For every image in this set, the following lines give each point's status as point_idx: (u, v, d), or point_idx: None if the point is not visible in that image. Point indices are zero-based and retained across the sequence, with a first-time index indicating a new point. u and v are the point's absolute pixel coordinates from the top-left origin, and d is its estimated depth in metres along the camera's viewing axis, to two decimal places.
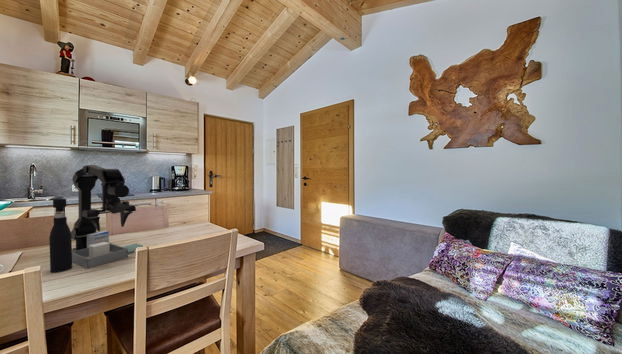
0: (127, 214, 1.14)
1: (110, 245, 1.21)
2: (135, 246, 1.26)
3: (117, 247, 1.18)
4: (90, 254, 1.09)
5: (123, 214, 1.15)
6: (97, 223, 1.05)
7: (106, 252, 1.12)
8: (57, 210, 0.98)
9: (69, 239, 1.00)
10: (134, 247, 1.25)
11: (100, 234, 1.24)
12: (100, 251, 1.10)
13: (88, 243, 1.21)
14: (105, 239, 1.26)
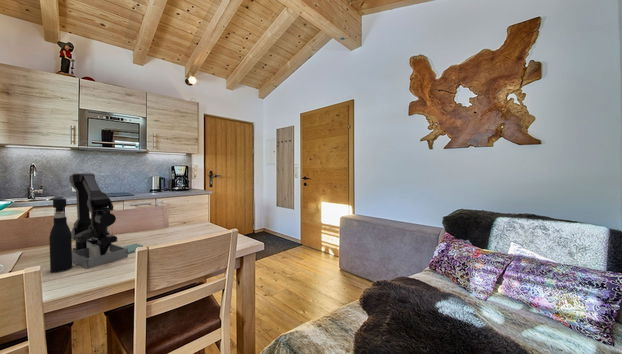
0: None
1: (110, 245, 1.21)
2: (135, 246, 1.26)
3: (117, 247, 1.18)
4: (90, 254, 1.09)
5: None
6: None
7: (106, 252, 1.12)
8: (57, 210, 0.98)
9: (69, 239, 1.00)
10: (134, 247, 1.25)
11: None
12: None
13: (88, 243, 1.21)
14: None
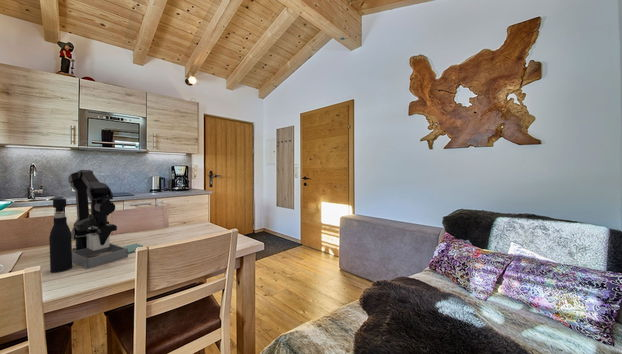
0: (97, 233, 1.08)
1: (110, 245, 1.21)
2: (135, 246, 1.26)
3: (117, 247, 1.18)
4: (90, 242, 1.09)
5: None
6: None
7: (106, 241, 1.12)
8: (57, 210, 0.98)
9: (69, 239, 1.00)
10: (134, 247, 1.25)
11: None
12: None
13: (88, 243, 1.21)
14: None
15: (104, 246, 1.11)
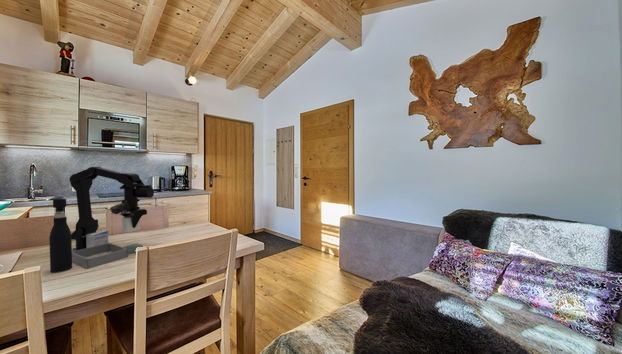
0: (130, 217, 1.20)
1: (110, 245, 1.21)
2: (135, 246, 1.26)
3: (117, 247, 1.18)
4: (123, 225, 1.21)
5: None
6: None
7: (137, 224, 1.24)
8: (57, 210, 0.98)
9: (69, 239, 1.00)
10: (134, 247, 1.25)
11: (100, 234, 1.24)
12: None
13: (88, 243, 1.21)
14: (105, 239, 1.26)
15: (135, 229, 1.23)
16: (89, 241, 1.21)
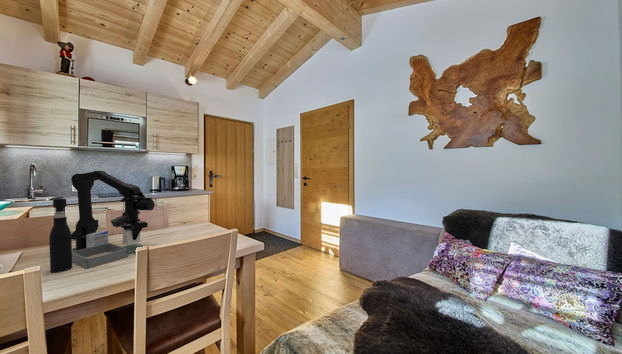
0: None
1: (110, 245, 1.21)
2: (135, 246, 1.26)
3: (117, 247, 1.18)
4: (124, 237, 1.22)
5: None
6: None
7: None
8: (57, 210, 0.98)
9: (69, 239, 1.00)
10: (134, 247, 1.25)
11: (100, 234, 1.24)
12: None
13: (88, 243, 1.21)
14: (105, 239, 1.26)
15: (136, 241, 1.24)
16: (89, 241, 1.21)
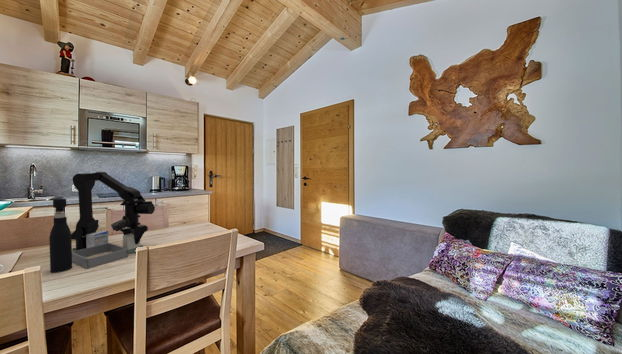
0: None
1: (110, 245, 1.21)
2: None
3: (117, 247, 1.18)
4: (124, 243, 1.22)
5: None
6: (124, 234, 1.25)
7: None
8: (57, 210, 0.98)
9: (69, 239, 1.00)
10: None
11: (100, 234, 1.24)
12: (133, 241, 1.23)
13: (88, 243, 1.21)
14: (105, 239, 1.26)
15: (136, 246, 1.24)
16: (89, 241, 1.21)
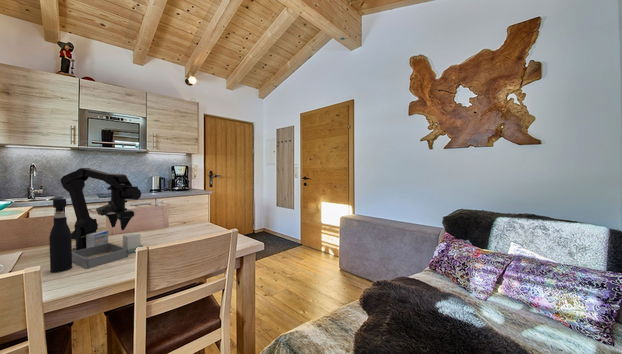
0: (119, 219, 1.17)
1: (110, 245, 1.21)
2: None
3: (117, 247, 1.18)
4: (124, 243, 1.22)
5: None
6: (109, 220, 1.23)
7: (137, 242, 1.25)
8: (57, 210, 0.98)
9: (69, 239, 1.00)
10: None
11: (100, 234, 1.24)
12: (133, 241, 1.23)
13: (88, 243, 1.21)
14: (105, 239, 1.26)
15: (136, 246, 1.24)
16: (89, 241, 1.20)
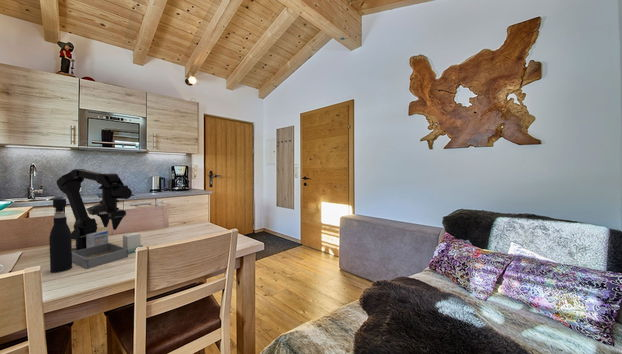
0: None
1: (110, 245, 1.21)
2: None
3: (117, 247, 1.18)
4: (124, 243, 1.22)
5: None
6: None
7: (137, 242, 1.25)
8: (57, 210, 0.98)
9: (69, 239, 1.00)
10: None
11: (100, 234, 1.24)
12: (133, 241, 1.23)
13: (88, 243, 1.21)
14: (105, 239, 1.26)
15: (136, 246, 1.24)
16: (89, 241, 1.21)
